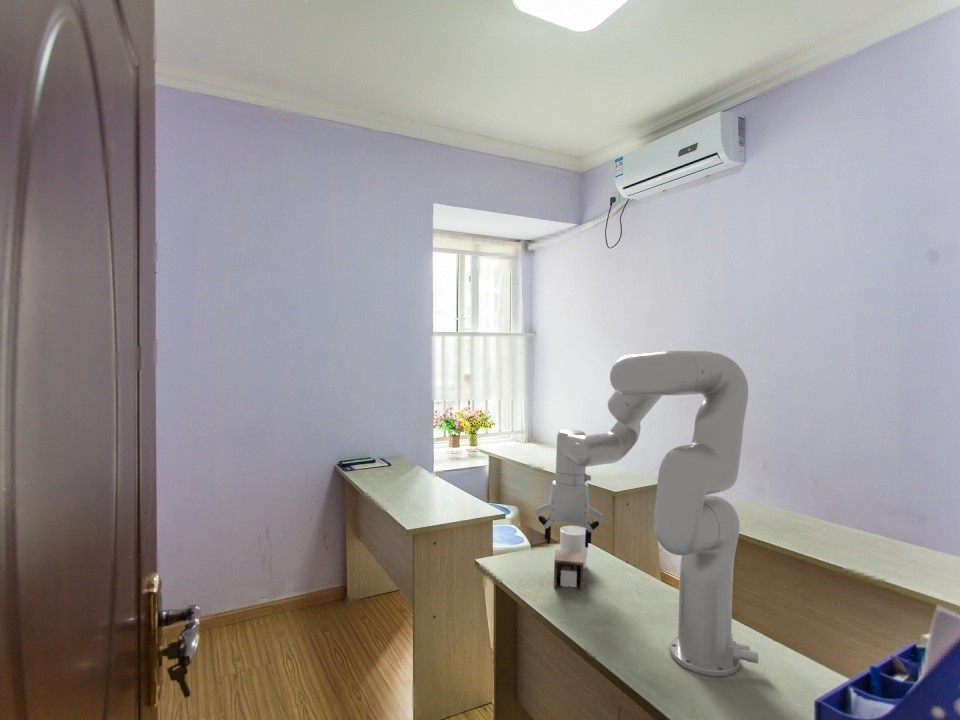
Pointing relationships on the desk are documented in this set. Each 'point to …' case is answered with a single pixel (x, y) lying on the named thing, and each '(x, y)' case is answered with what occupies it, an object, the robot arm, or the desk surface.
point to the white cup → (573, 540)
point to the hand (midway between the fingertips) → (567, 543)
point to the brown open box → (568, 559)
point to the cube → (568, 575)
